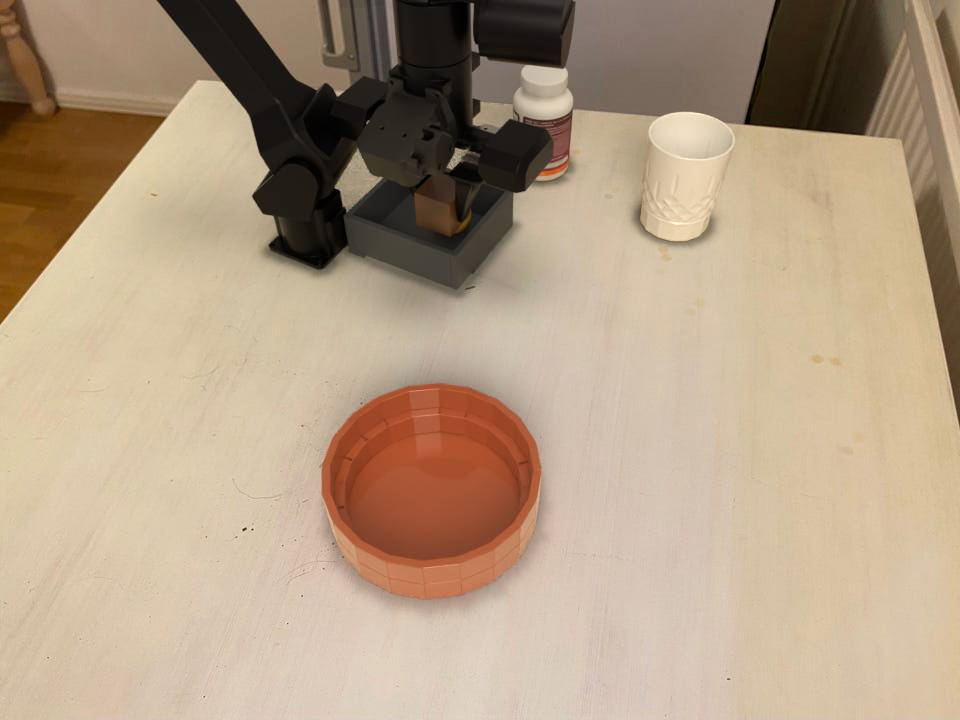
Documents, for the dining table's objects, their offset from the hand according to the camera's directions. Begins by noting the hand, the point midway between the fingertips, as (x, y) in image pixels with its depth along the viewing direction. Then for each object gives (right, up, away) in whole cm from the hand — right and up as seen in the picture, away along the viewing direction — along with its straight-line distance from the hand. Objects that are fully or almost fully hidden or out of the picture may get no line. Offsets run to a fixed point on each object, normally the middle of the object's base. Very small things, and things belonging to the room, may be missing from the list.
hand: (443, 213), depth 74 cm
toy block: (0, 0, +1) cm, 1 cm away
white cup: (+23, +1, +9) cm, 25 cm away
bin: (-1, -1, +7) cm, 7 cm away
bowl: (0, -24, -13) cm, 28 cm away
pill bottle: (+10, +8, +15) cm, 20 cm away
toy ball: (+2, 0, +6) cm, 7 cm away
